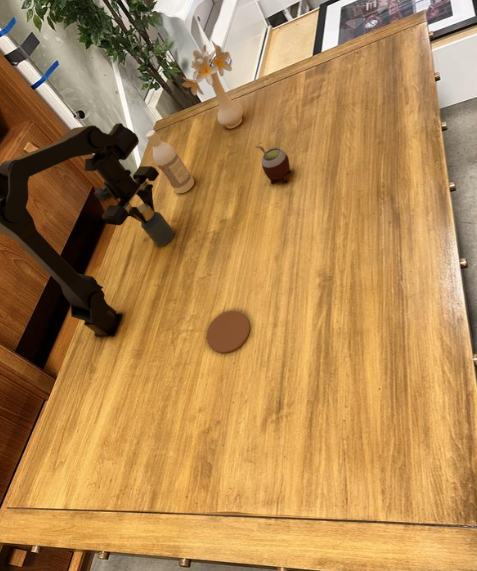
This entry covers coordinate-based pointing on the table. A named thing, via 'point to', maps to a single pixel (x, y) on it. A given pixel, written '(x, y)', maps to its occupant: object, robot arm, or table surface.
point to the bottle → (158, 229)
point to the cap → (146, 211)
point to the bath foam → (170, 164)
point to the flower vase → (215, 83)
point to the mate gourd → (275, 164)
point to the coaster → (228, 331)
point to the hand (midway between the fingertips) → (149, 217)
